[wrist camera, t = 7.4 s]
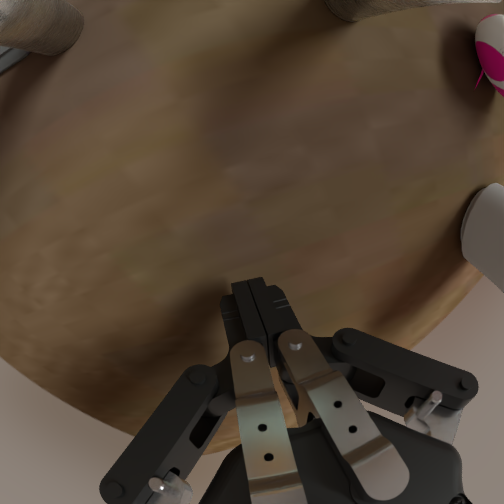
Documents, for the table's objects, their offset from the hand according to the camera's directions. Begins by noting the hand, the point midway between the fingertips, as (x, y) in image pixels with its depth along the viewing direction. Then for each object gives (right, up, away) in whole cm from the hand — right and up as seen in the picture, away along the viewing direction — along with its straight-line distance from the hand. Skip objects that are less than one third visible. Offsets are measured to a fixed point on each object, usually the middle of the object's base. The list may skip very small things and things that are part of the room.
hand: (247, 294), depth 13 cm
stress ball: (+17, +16, -3) cm, 23 cm away
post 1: (-8, +11, -7) cm, 15 cm away
